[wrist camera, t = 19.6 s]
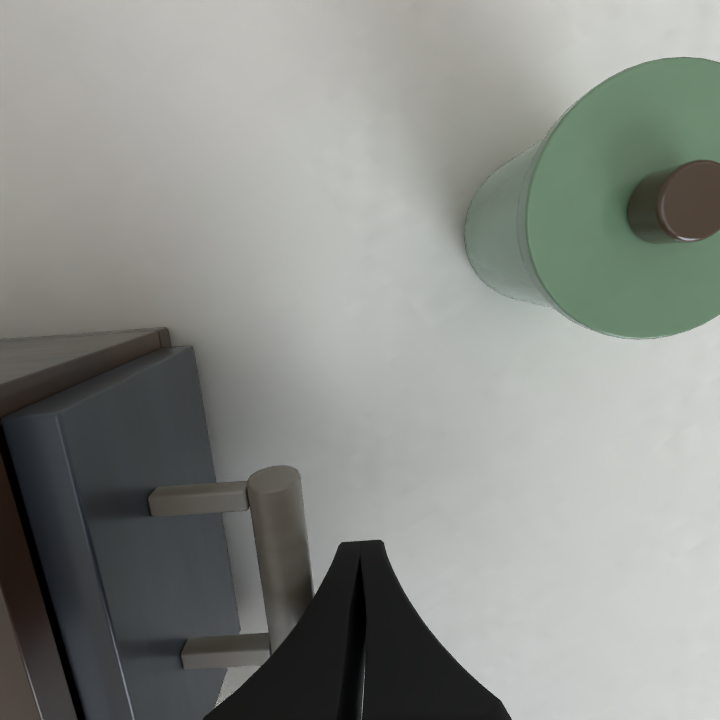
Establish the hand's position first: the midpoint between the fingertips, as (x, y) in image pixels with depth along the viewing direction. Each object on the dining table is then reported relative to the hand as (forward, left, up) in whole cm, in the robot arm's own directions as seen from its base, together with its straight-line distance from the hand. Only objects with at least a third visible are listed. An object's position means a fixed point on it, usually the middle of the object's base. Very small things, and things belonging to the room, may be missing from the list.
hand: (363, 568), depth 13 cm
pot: (0, -12, -4) cm, 13 cm away
